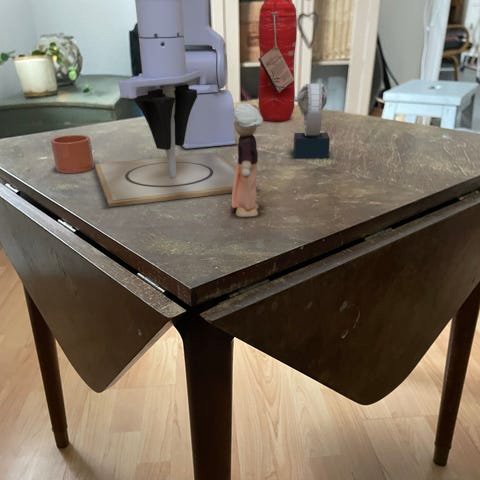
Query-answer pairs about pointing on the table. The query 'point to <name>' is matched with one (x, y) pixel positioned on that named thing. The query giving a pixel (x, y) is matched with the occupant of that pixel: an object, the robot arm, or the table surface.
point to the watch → (311, 123)
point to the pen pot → (72, 153)
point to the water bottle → (277, 59)
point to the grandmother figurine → (246, 161)
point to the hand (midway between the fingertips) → (170, 146)
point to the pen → (170, 153)
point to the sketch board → (165, 179)
